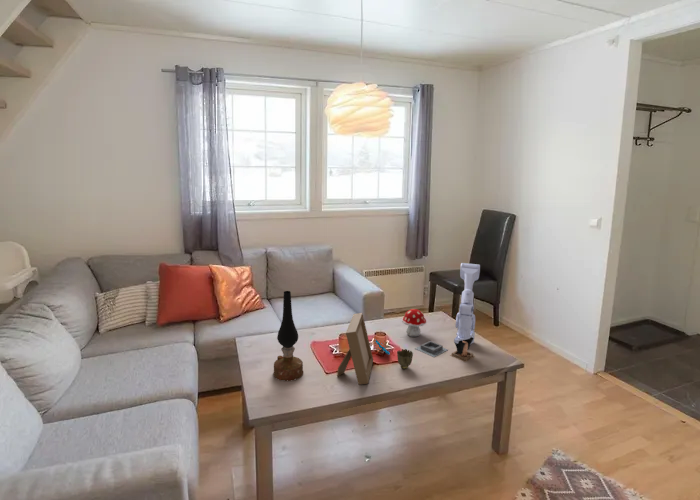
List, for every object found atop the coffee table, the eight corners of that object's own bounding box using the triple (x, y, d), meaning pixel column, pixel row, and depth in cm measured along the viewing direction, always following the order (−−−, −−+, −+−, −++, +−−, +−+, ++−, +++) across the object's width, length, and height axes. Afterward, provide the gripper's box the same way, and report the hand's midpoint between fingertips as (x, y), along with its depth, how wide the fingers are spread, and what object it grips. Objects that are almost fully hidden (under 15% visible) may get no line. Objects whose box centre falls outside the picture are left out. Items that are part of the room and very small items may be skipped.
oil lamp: (303, 386, 188) (320, 307, 176) (269, 383, 185) (284, 303, 173) (301, 367, 201) (317, 292, 189) (269, 365, 198) (283, 288, 186)
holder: (459, 351, 217) (459, 347, 216) (475, 358, 210) (475, 354, 210) (449, 357, 211) (449, 353, 210) (465, 363, 204) (465, 359, 204)
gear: (392, 355, 208) (378, 342, 206) (384, 364, 208) (369, 350, 207) (388, 348, 219) (375, 335, 217) (380, 356, 219) (367, 343, 217)
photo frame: (373, 361, 205) (374, 313, 199) (368, 385, 184) (368, 332, 178) (343, 359, 207) (343, 311, 201) (334, 382, 186) (334, 330, 180)
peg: (461, 352, 213) (462, 340, 212) (468, 356, 210) (469, 343, 209) (456, 355, 210) (457, 342, 209) (463, 358, 207) (464, 345, 206)
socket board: (428, 343, 225) (429, 338, 224) (447, 351, 217) (448, 346, 216) (414, 350, 217) (415, 344, 216) (433, 359, 209) (434, 353, 208)
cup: (402, 373, 194) (403, 357, 193) (393, 366, 201) (394, 350, 199) (415, 369, 198) (416, 354, 196) (406, 362, 204) (407, 347, 202)
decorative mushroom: (428, 332, 240) (430, 307, 236) (421, 341, 227) (423, 315, 224) (405, 327, 245) (406, 303, 242) (397, 336, 233) (398, 311, 230)
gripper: (465, 320, 214) (463, 345, 218) (449, 328, 205) (447, 353, 208) (478, 325, 209) (475, 350, 213) (462, 332, 200) (459, 359, 203)
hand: (462, 352), depth 210 cm, fingers open, 5 cm apart
